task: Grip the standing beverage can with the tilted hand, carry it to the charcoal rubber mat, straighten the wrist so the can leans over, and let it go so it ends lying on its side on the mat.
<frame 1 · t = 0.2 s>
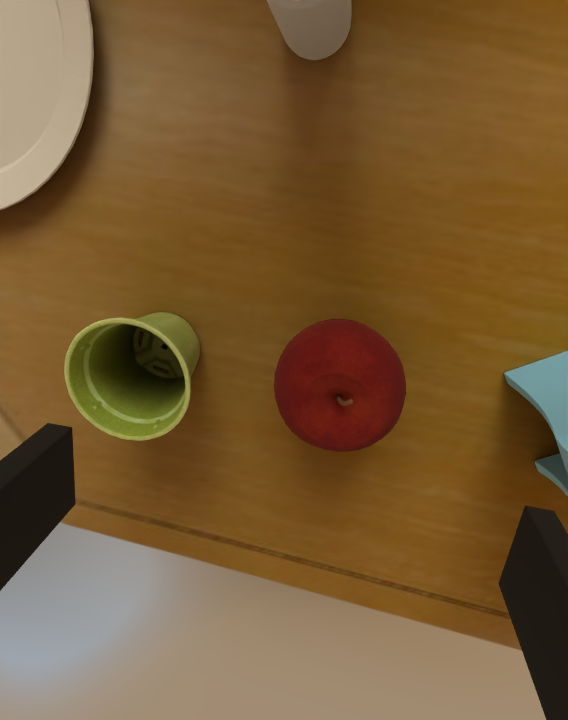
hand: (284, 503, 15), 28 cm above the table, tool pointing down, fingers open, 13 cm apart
plant pot: (168, 344, 44), on the table
beverage can: (316, 23, 34), on the table
apple: (340, 357, 42), on the table
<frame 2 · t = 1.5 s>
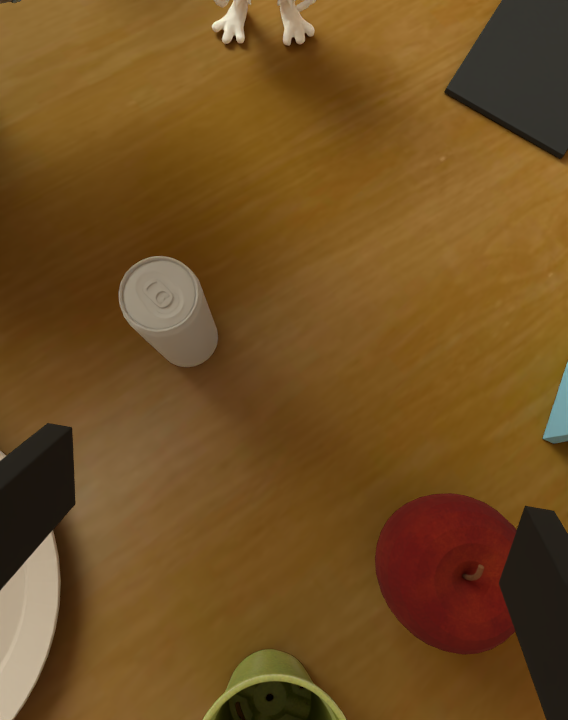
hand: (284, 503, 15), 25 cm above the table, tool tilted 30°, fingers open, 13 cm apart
plant pot: (270, 691, 36), on the table
beverage can: (189, 339, 40), on the table
apple: (420, 549, 38), on the table
figurine: (264, 29, 46), on the table
mat: (554, 37, 47), on the table
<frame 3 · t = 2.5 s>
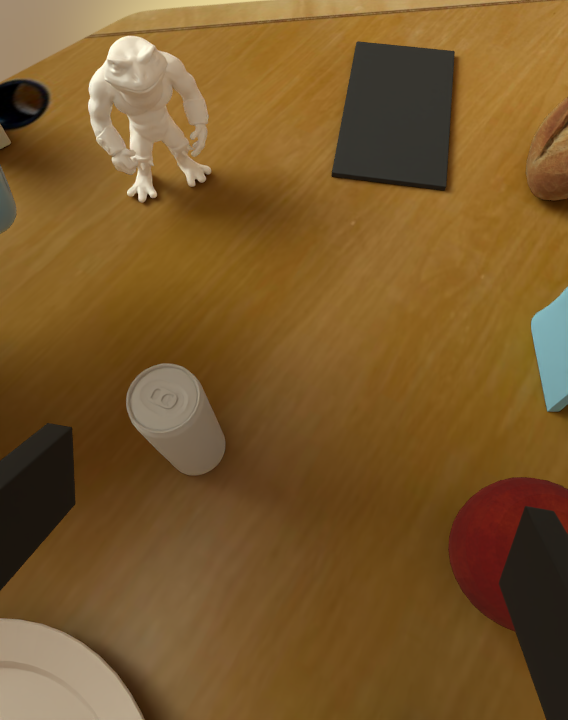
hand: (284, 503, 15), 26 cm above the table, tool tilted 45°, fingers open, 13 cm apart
beverage can: (197, 448, 42), on the table
apple: (493, 559, 38), on the table
figurine: (170, 182, 54), on the table
mat: (396, 112, 58), on the table
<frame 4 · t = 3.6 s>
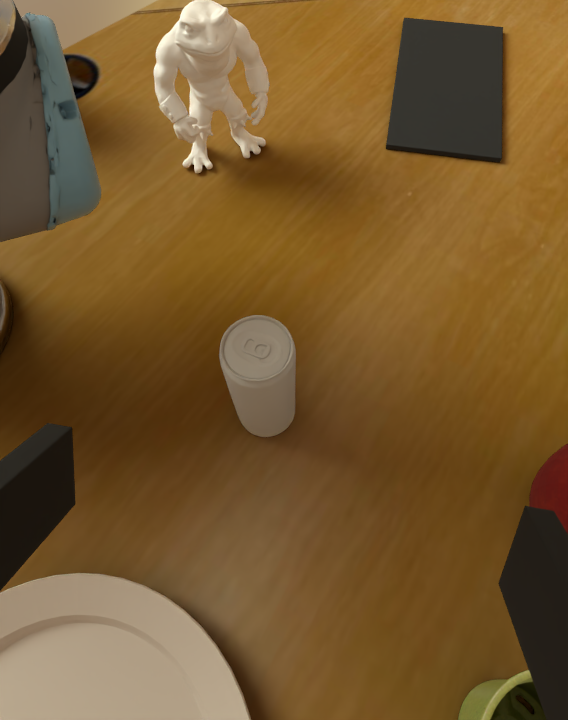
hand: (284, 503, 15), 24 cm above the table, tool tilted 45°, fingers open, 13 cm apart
beverage can: (266, 411, 42), on the table
figurine: (224, 153, 54), on the table
mat: (447, 86, 58), on the table
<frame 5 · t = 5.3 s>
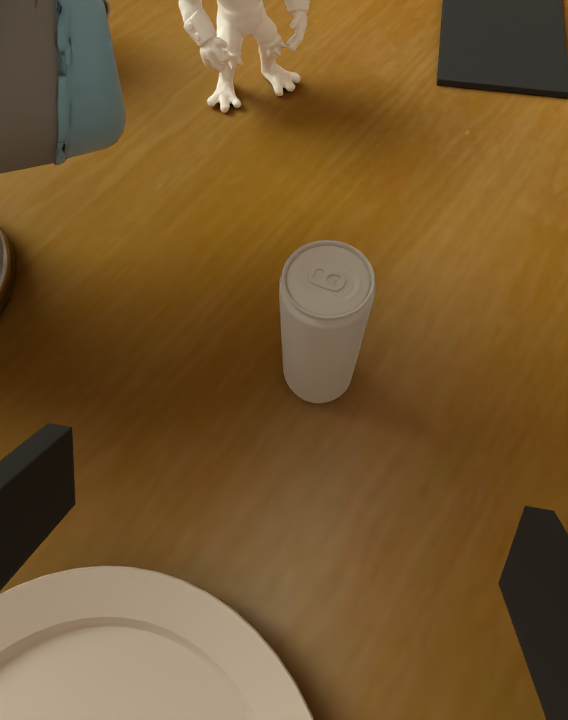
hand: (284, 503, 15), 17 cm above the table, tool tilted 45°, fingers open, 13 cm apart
beverage can: (317, 375, 35), on the table
figurine: (253, 92, 48), on the table
mat: (500, 19, 51), on the table
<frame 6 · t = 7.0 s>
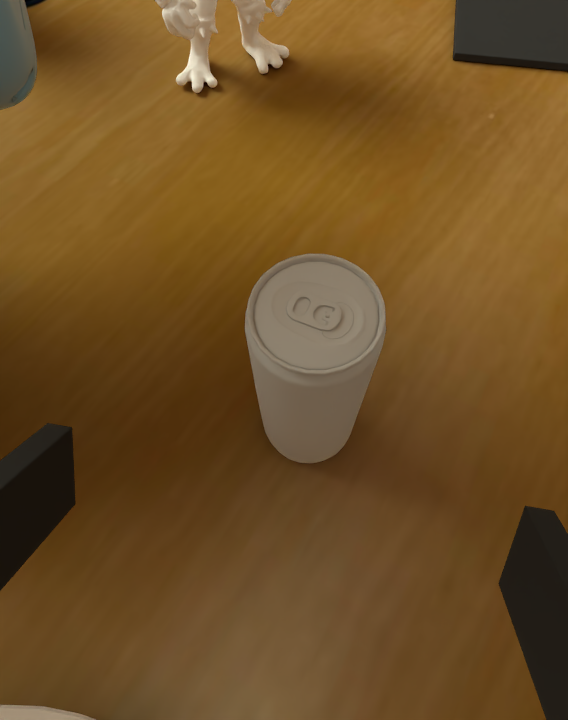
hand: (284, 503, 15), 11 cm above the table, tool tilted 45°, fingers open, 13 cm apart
beverage can: (306, 423, 27), on the table
figurine: (232, 69, 40), on the table
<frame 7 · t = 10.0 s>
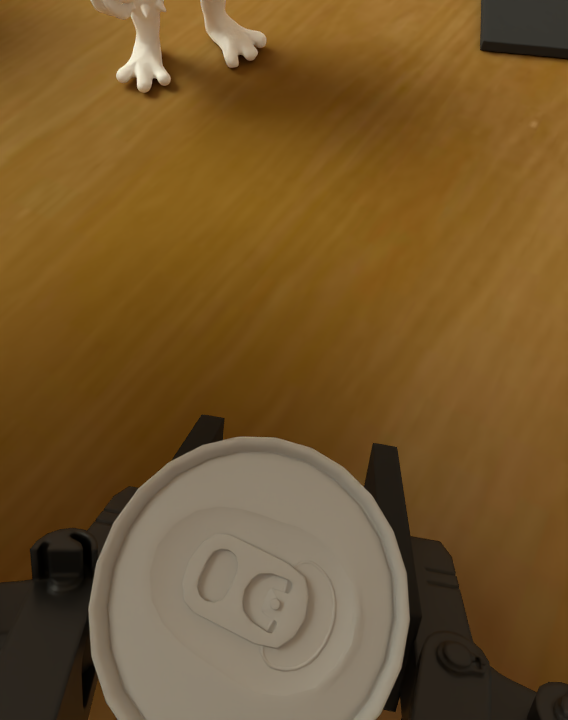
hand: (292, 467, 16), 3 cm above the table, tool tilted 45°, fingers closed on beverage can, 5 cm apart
beverage can: (275, 590, 18), on the table, touching gripper
figurine: (192, 62, 30), on the table
when the fingers open (2 cm above the table, at t = 24.6 s): beverage can moves 2 cm, resting on mat.
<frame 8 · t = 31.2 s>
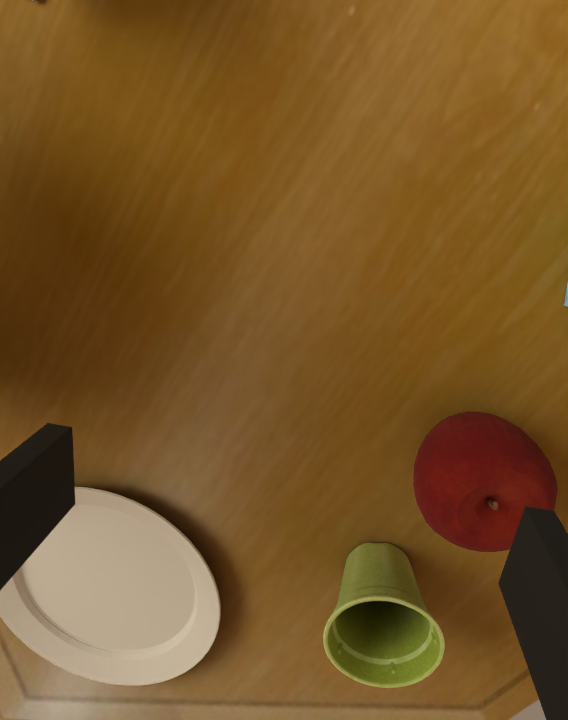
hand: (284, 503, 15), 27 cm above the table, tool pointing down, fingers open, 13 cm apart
plate: (108, 578, 53), on the table
plant pot: (378, 564, 48), on the table
apple: (464, 442, 42), on the table
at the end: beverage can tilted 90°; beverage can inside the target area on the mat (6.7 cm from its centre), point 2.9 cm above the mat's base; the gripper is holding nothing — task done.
